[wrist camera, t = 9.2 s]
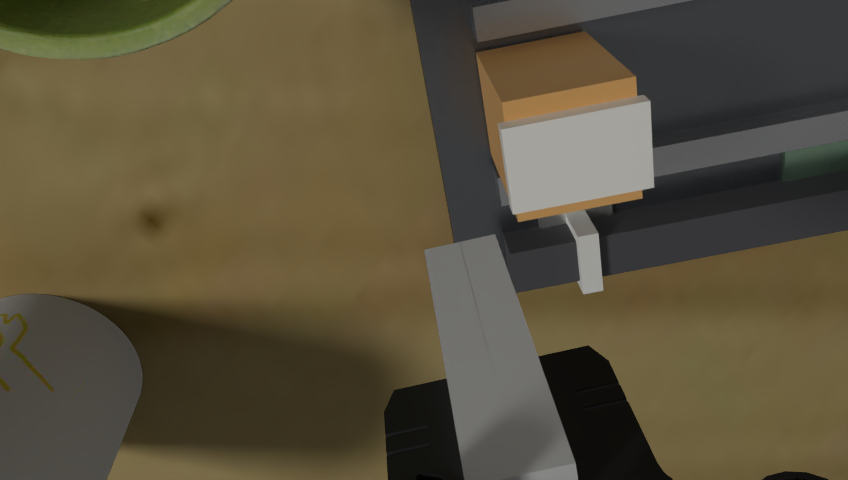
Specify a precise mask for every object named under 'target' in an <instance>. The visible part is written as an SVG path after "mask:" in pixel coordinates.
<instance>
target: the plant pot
mask: <svg viewBox="0 0 848 480" xmlns="http://www.w3.org/2000/svg"><path fill="white" fill-rule="evenodd" d="M231 1H232V0H0V49H3V50H6V51H9V52H14V53H19V54H23V55H28V56H36V57H43V58H56V59H77V60H85V59H100V58H109V57H115V56H121V55H127V54H131V53H134V52H138V51H142V50H145V49H148V48H150V47H153V46H156V45H159V44H161V43H164V42H167V41H170V40H172V39H174V38H176V37H178V36H180V35H182V34H184V33H186V32H188V31H190V30H192V29H194V28H196V27H198V26H199V25H201V24H202V23H204V22H205V21H207V20H208V19H210V18H211V17H212V16H214V15H215V14H216V13H217V12H219V11H220V10H221V9H222V8H224V7H225V6H226V5H227V4H229V3H230V2H231Z"/></svg>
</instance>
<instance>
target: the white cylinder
mask: <svg viewBox="0 0 848 480" xmlns="http://www.w3.org/2000/svg"><path fill="white" fill-rule="evenodd" d="M142 383H143V375H142V367H141V363H140V360H139V357H138V355H137V352H136V350H135V348H134V347H133V345H132V343H131V342H130V340H129V339H128V338H127V336H126V335H125V334H124V333H123V332H122V331H121V330H120V329H119V328H118V327H117V326H116V325H115V324H114V323H113V322H112V321H111V320H109V319H108V318H107V317H105V316H104V315H102V314H101V313H99V312H97V311H96V310H94V309H92V308H90V307H88V306H86V305H84V304H81V303H79V302H76V301H73V300H70V299H67V298H63V297H58V296H53V295H45V294H22V295H14V296H9V297H5V298H2V299H0V480H107V478H108V475H109V473H110V470H111V468H112V465H113V463H114V460H115V458H116V455H117V453H118V450H119V448H120V445H121V443H122V440H123V437H124V435H125V432H126V430H127V427H128V425H129V422H130V420H131V417H132V415H133V412H134V410H135V407H136V405H137V402H138V400H139V397H140V394H141V390H142Z"/></svg>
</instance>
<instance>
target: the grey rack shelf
mask: <svg viewBox="0 0 848 480" xmlns="http://www.w3.org/2000/svg"><path fill="white" fill-rule="evenodd" d="M566 222H567V223H566V224H561V225H555V226H550V227H545V228H540V227H539V226H538V227H533V228H527V229H522V230H517V231H512V232H506V233H503V238H504V244H505V251H506V258H507V264H508V271H509V274H510V277H511V280H512V283H513V286H514V289H515V292H516V293H518V292H523V291H528V290H533V289H539V288H544V287H549V286H555V285H560V284H565V283H570V282H576V281H577V282H578V284H579V286H580V288H581V290H582V292H583V294H588V293H593V292H598V291H603V281H602V276H607V275H613V274H618V273H623V272H628V271H634V270H639V269H644V268H650V267H655V266H660V265H665V264H671V263H676V262H681V261H687V260H692V259H697V258H702V257H708V256H713V255H718V254H723V253H729V252H734V251H739V250H745V249H750V248H755V247H760V246H766V245H771V244H776V243H781V242H787V241H792V240H797V239H803V238H808V237H813V236H818V235H824V234H829V233H834V232H840V231H845V230H848V170H843V171H838V172H833V173H828V174H822V175H817V176H812V177H807V178H801V179H796V180H791V181H786V182H784V181H782V180H778V181H773V182H768V183H763V184H758V185H752V186H747V187H742V188H737V189H731V190H726V191H721V192H716V193H710V194H705V195H700V196H695V197H690V198H684V199H679V200H674V201H669V202H663V203H658V204H653V205H648V206H642V207H637V208H632V209H627V210H622V211H616V212H613V215H608V216H603V217H597V218H592V219H590V218H589V216H588V215H587V213H586V211H582V212H577V213H572V214H566Z"/></svg>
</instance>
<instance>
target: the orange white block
mask: <svg viewBox="0 0 848 480" xmlns="http://www.w3.org/2000/svg"><path fill="white" fill-rule="evenodd" d="M476 57H477V63H478V70H479V77H480V84H481V90H482V97H483V104H484V110H485V117H486V124H487V131H488V137H489V144H490V151H491V155H492V158H493V160H494V163H495V165H496V168H497V170H498V173H499V175H500V178H501V180H502V183H503V185H504V188H505V190H506V193H507V195H508V198H509V205H510V209H511V211H512V214H513V215H514V214H515V215H516V218H517V220H518V222H522V221H527V220H532V219H537V218H543V217H548V216H553V215H558V214H563V213H569V212H574V211H579V210H584V209H590V208H595V207H600V206H605V205H611V204H616V203H621V202H626V201H631V200H637V199H642V198H643V196H642V190H645V189H650V188H654V170H653V148H652V126H651V103H650V100H649V99H648V98H647V97H646V96H645V95H639V96H637V84H636V76H635V75H634V74H633V73H632V72H631V71H629V70H628V69H627V68H626V67H625V66H624V65H623V64H622V63H620V62H619V61H618V60H617V59H616V58H615V57H614V56H612V55H611V54H610V53H609V52H608V51H607V50H606V49H605V48H603V47H602V46H601V45H600V44H599V43H598V42H597V41H596V40H594V39H593V38H592V37H591V36H590V35H589V34H588V33H587V32H585V31H583V32H577V33H572V34H567V35H562V36H557V37H552V38H547V39H542V40H537V41H532V42H526V43H521V44H516V45H511V46H506V47H501V48H496V49H491V50H486V51H481V52H476Z"/></svg>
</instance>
